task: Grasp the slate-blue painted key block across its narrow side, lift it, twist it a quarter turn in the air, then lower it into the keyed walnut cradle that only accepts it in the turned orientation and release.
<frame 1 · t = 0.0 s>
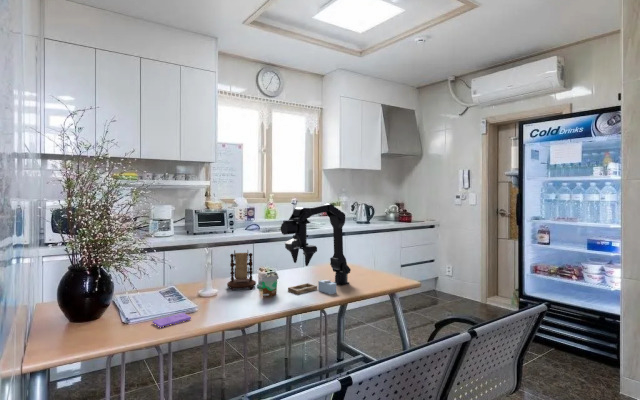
hand: (300, 264, 184), 15 cm above the table, fingers open, 9 cm apart
cradle: (302, 290, 190), on the table
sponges: (172, 323, 147), on the table
scroll: (241, 287, 195), on the table
key block: (327, 291, 188), on the table
food container: (272, 295, 183), on the table
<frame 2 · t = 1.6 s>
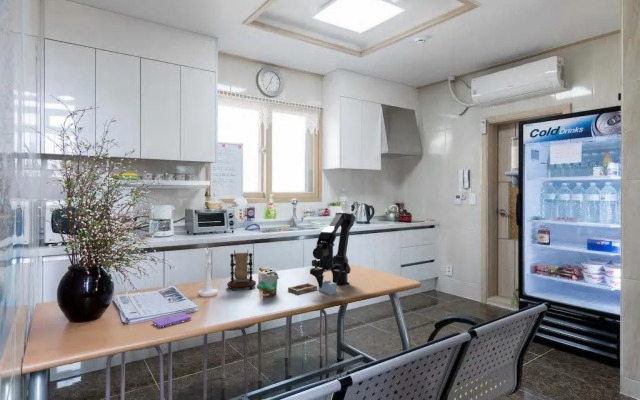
hand: (327, 286, 188), 3 cm above the table, fingers open, 9 cm apart
nothing on the table moved.
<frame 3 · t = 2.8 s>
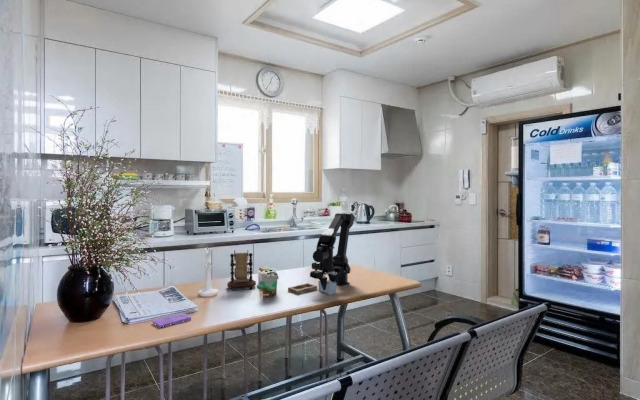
hand: (327, 289, 188), 1 cm above the table, fingers closed on key block, 4 cm apart
key block: (327, 291, 188), on the table, touching gripper
everything else where it was.
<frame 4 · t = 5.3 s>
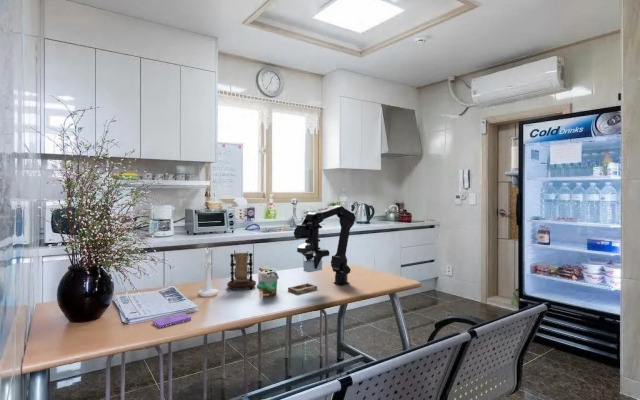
hand: (312, 268, 188), 12 cm above the table, fingers closed on key block, 4 cm apart
key block: (312, 270, 188), point 11 cm above the table, touching gripper
everything else where it was.
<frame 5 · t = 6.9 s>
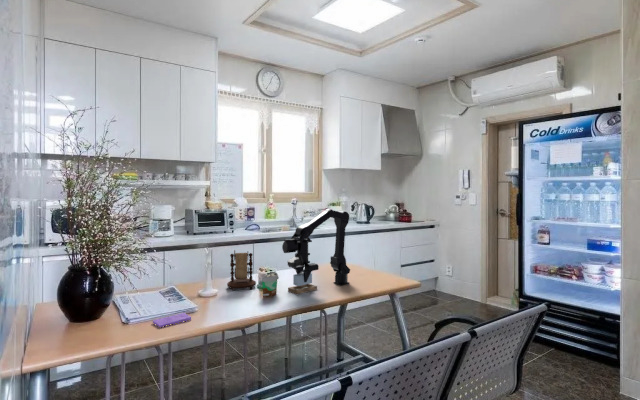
hand: (302, 281, 190), 5 cm above the table, fingers closed on key block, 4 cm apart
key block: (302, 283, 190), point 3 cm above the table, touching gripper
everything else where it was.
when the fingers open (3 cm above the table, at t = 8.0 s): key block drops 1 cm, resting on cradle.
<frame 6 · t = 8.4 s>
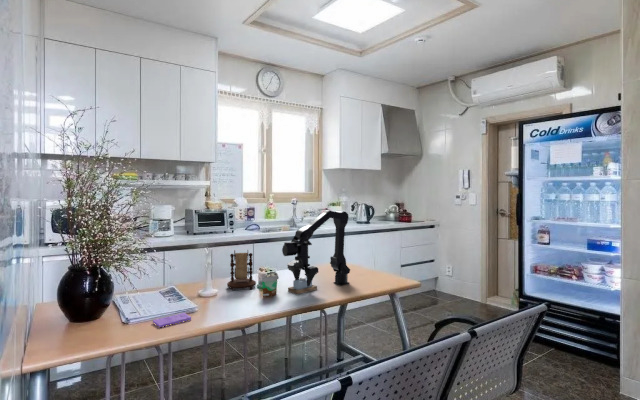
hand: (302, 284, 190), 3 cm above the table, fingers open, 9 cm apart
key block: (302, 289, 190), resting on cradle
everything else where it was.
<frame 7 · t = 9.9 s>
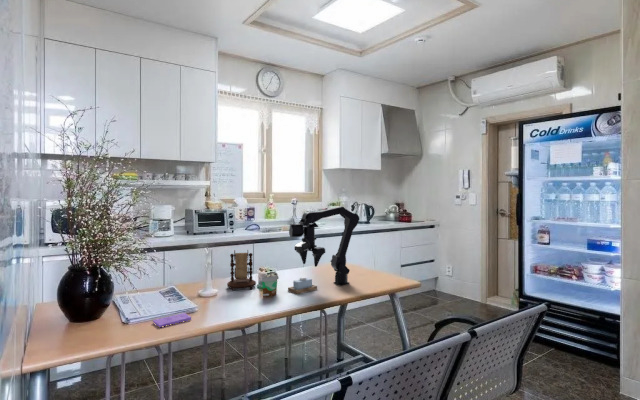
hand: (309, 265, 196), 12 cm above the table, fingers open, 9 cm apart
nothing on the table moved.
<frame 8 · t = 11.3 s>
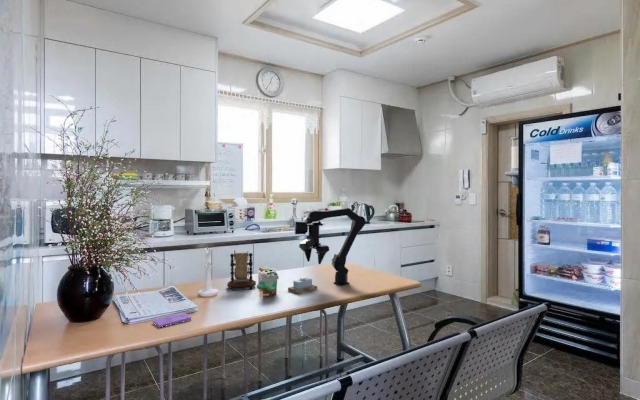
hand: (313, 262, 200), 12 cm above the table, fingers open, 9 cm apart
nothing on the table moved.
at the end: key block 0.1 cm off-centre on the cradle, point 0.3 cm above the cradle's base; key block tilted 0°; the gripper is holding nothing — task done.
